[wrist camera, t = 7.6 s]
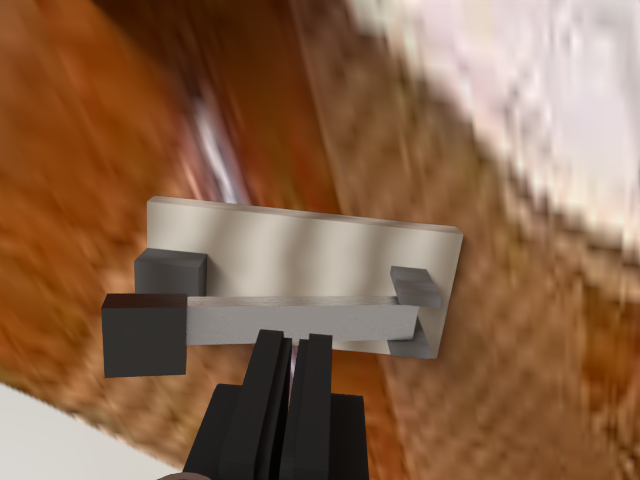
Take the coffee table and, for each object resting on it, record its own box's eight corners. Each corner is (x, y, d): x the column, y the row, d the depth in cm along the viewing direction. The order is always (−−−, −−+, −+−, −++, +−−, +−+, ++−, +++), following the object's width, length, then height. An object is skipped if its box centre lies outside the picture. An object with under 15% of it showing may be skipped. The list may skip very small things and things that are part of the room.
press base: (457, 227, 42) (485, 259, 34) (431, 347, 46) (452, 398, 38) (155, 195, 41) (119, 222, 34) (156, 320, 45) (124, 368, 38)
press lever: (413, 284, 38) (432, 305, 35) (403, 340, 39) (420, 365, 36) (111, 283, 32) (101, 308, 29) (114, 347, 34) (104, 377, 31)
